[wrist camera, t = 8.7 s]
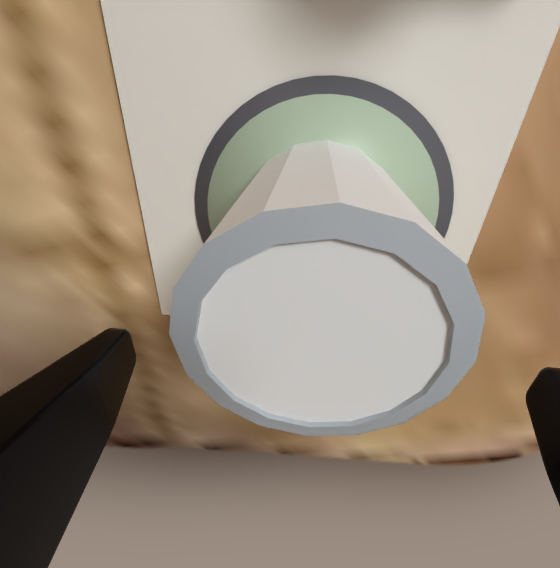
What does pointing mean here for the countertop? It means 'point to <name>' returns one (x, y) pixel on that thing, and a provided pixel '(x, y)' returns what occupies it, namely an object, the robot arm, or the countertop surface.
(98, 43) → the countertop surface
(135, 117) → the white square board
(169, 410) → the countertop surface
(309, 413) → the shot glass
